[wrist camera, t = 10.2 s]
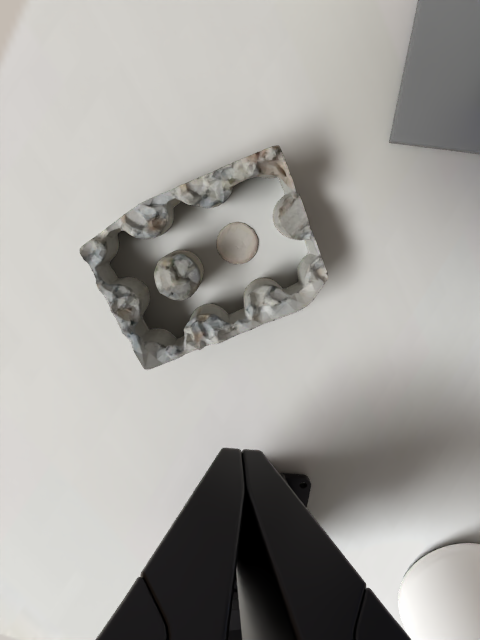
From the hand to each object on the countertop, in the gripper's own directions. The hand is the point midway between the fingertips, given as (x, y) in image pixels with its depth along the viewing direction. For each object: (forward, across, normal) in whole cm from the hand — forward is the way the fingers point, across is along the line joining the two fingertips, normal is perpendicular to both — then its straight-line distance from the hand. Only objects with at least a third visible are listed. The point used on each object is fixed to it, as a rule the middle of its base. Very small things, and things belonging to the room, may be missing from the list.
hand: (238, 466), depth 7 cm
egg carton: (+14, +2, -3) cm, 14 cm away
